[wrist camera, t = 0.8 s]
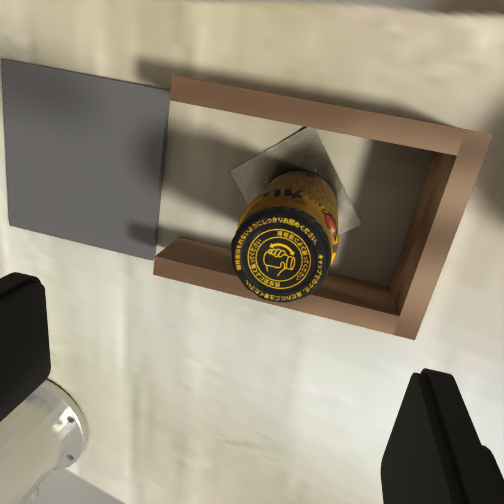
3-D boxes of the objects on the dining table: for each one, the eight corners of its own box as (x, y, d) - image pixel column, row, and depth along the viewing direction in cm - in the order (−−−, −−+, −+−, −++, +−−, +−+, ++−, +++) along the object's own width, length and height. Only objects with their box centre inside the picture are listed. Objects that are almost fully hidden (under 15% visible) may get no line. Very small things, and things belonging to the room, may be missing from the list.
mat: (154, 258, 35) (152, 260, 34) (14, 223, 36) (9, 225, 36) (170, 90, 30) (167, 90, 29) (7, 59, 32) (1, 58, 31)
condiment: (279, 261, 33) (252, 336, 22) (229, 170, 31) (172, 201, 20) (361, 223, 30) (378, 285, 19) (312, 123, 29) (300, 128, 18)
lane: (402, 307, 32) (414, 340, 27) (177, 253, 34) (153, 274, 30) (465, 131, 27) (493, 134, 22) (197, 81, 29) (171, 74, 25)
